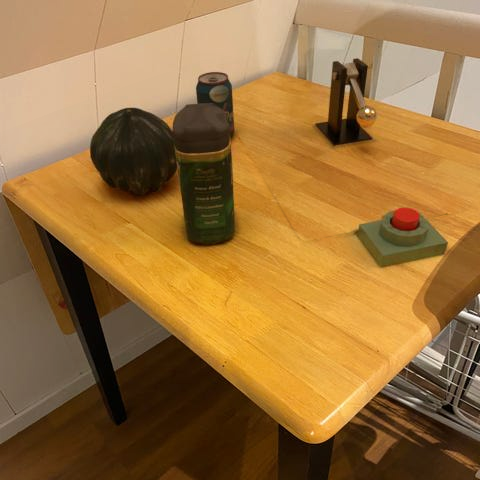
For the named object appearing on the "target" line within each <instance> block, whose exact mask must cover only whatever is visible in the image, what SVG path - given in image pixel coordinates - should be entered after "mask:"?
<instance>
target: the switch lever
mask: <svg viewBox="0 0 480 480" xmlns="http://www.w3.org/2000/svg"><path fill="white" fill-rule="evenodd" d="M342 65H343V66H345V67H346V68H347V75H346V85H345V86H349V89H350V88H351V91H352V93H353V96H354V98H355V100H356V103H357V105H358V108H359V111H358V113H357V116H356V120H357V123H358V124H359V125H360V126H361V127H362V128H363V129H364V128H370V127H372V126H374V125H375V123H376V122H377V119H378V112H377V109H375V107H374V106H371V105H367V103H366V101H365V97H364V98H363V96H362V93H361V91H360V88H359V86H358V83H357V81H356V80H357V77H358V75H359V73H358V71H357V68H356V66H355V63H354V62H353V61H352V62H347V63H342Z"/></svg>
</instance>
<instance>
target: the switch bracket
mask: <svg viewBox="0 0 480 480" xmlns="http://www.w3.org/2000/svg"><path fill="white" fill-rule="evenodd" d="M353 62H354V63H355V66H356V68H357V71H358V73H359V75H358V77H357V80H356V81H357V83H358V86H359V88H360V91H361V93H362V96H363V98H364V99H365V91H366V86H367V85H366V84H367V75H368V69H369V65H368V64H366V62H364V61H362V60H361V59H360V58H359V57H357V58H353V59H352V63H353ZM346 75H347V68H346V67H345V66H343V63H341V62H340V61H338V60H335V61H334V60H333V61H332V68H331V77H330V78H331V80H330V90H329V103H328V116H327V121H322V122H317V123H316V122H315V126H316V128H317V129H318V130H319V131H320V132H321V133H322V135H323V136H324V137H325V138H326V139H327V140H328V142H330V143H331V145H332V146H333V147H335V146H343V145H348V144H354V143H360V142H365V141H371V140H373V137H372V136H371V135H370V134H369V133H368V132H367V131H366V130H365V129H364V127H361V126H360V125H359V124H358V123H357V120H356V116H357V113H358V111H359V108H358V105H357V103H356V100H355V98H354V96H353V93H352V91H351V88H350V87H349V93H348V104H347V109H346V111H347V112H346V118H343V115H344V113H343V112H344V104H345V103H344V102H345V95H346V86H347V85H346Z"/></svg>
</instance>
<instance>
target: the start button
mask: <svg viewBox="0 0 480 480" xmlns="http://www.w3.org/2000/svg"><path fill="white" fill-rule="evenodd" d="M393 211H394V213H393V218H392V226H393V227H394V228H396V229H398V230H401V231H412V230H415V229H416V228H417V226H418V222H419V218H420V215H419V213H420V212H418V211H417V210H416V209H414V208H411V207H399V208H397V209H395V210H393Z"/></svg>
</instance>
